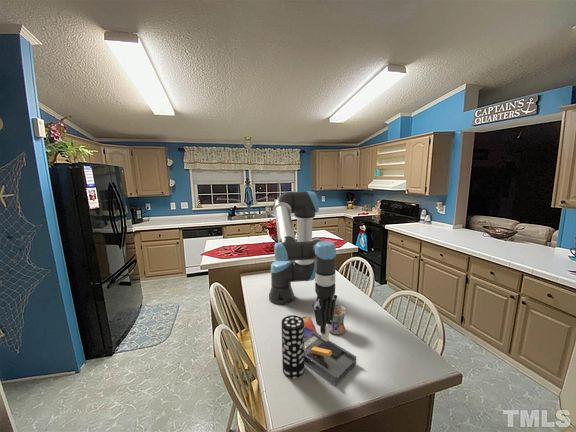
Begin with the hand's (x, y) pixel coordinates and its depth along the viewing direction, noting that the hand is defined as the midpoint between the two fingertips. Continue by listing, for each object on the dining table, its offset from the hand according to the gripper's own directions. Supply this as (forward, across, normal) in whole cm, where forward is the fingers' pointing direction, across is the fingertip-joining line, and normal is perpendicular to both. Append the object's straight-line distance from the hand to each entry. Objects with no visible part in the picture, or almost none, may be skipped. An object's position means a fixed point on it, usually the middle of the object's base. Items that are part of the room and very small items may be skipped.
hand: (324, 339), depth 95 cm
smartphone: (+10, +11, +19) cm, 24 cm away
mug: (+10, +20, +9) cm, 24 cm away
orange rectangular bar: (+5, -2, 0) cm, 6 cm away
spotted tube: (+10, -12, +6) cm, 16 cm away
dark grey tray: (+9, 0, +1) cm, 9 cm away
